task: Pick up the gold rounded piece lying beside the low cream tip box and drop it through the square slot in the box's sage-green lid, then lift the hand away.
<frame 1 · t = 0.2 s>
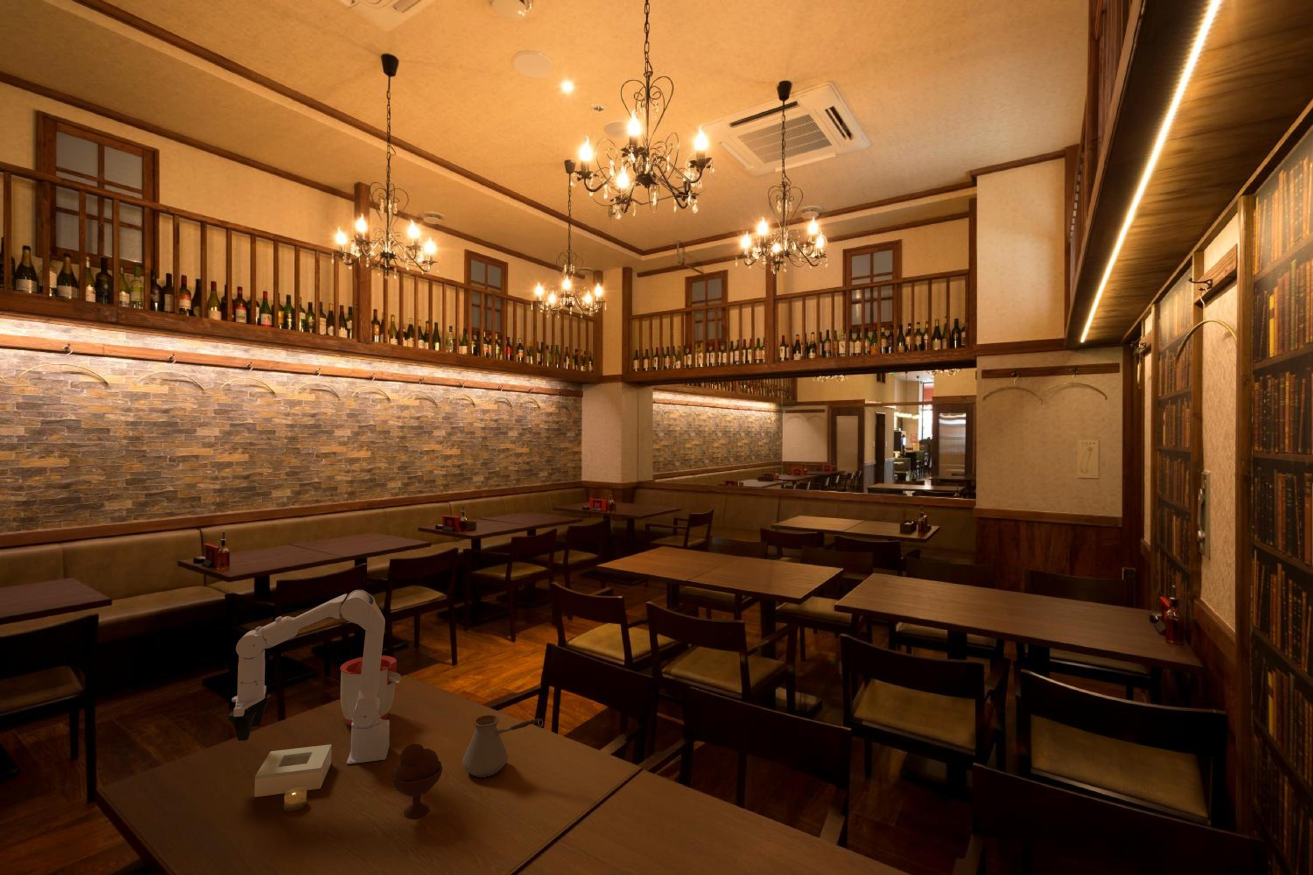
hand: (249, 732, 154), 10 cm above the table, fingers open, 7 cm apart
ice cream bowl: (416, 811, 139), on the table
tip box: (294, 779, 151), on the table
coffee pot: (502, 772, 157), on the table
gold rounded piece: (295, 805, 140), on the table
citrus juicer: (370, 720, 184), on the table
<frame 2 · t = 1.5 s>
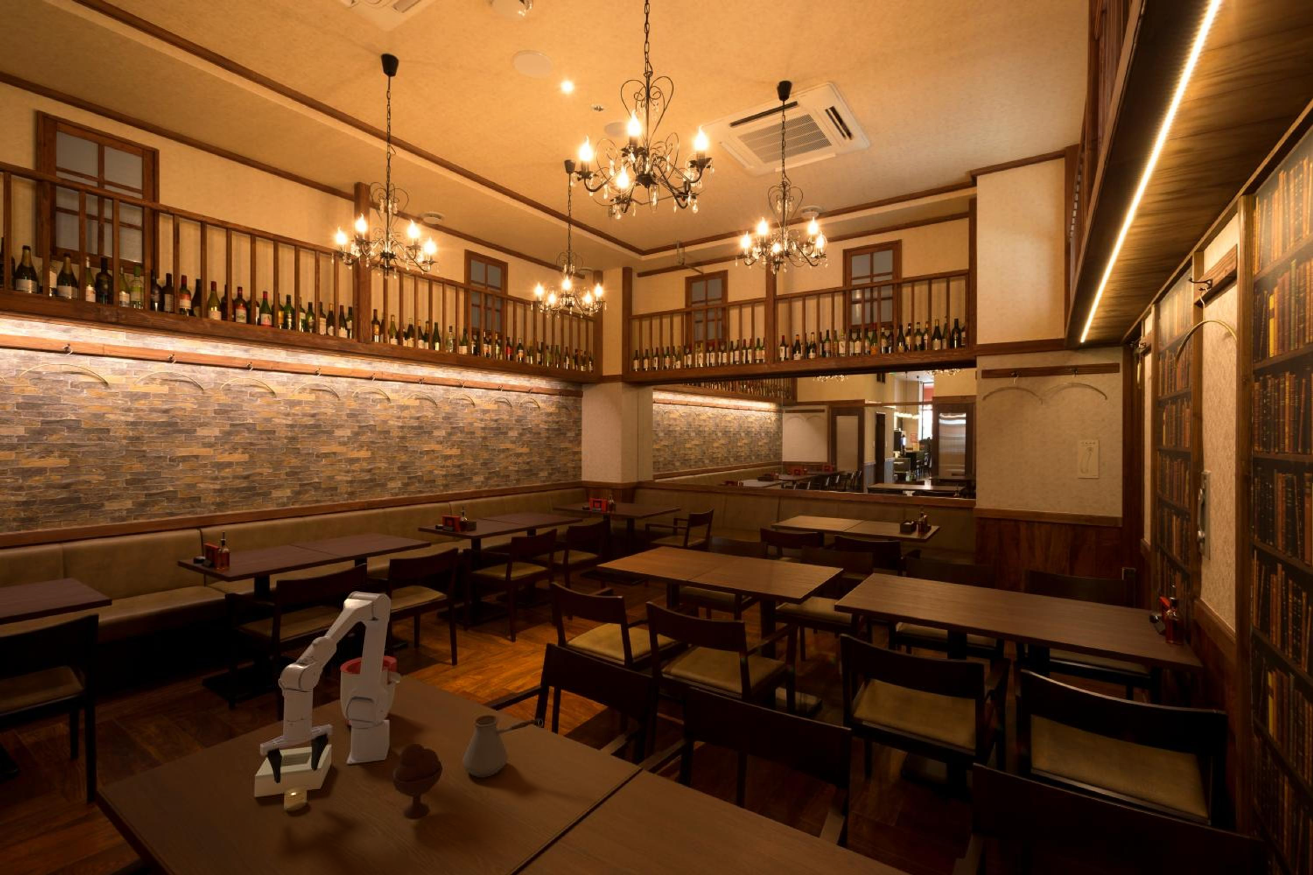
hand: (296, 774, 140), 7 cm above the table, fingers open, 7 cm apart
nothing on the table moved.
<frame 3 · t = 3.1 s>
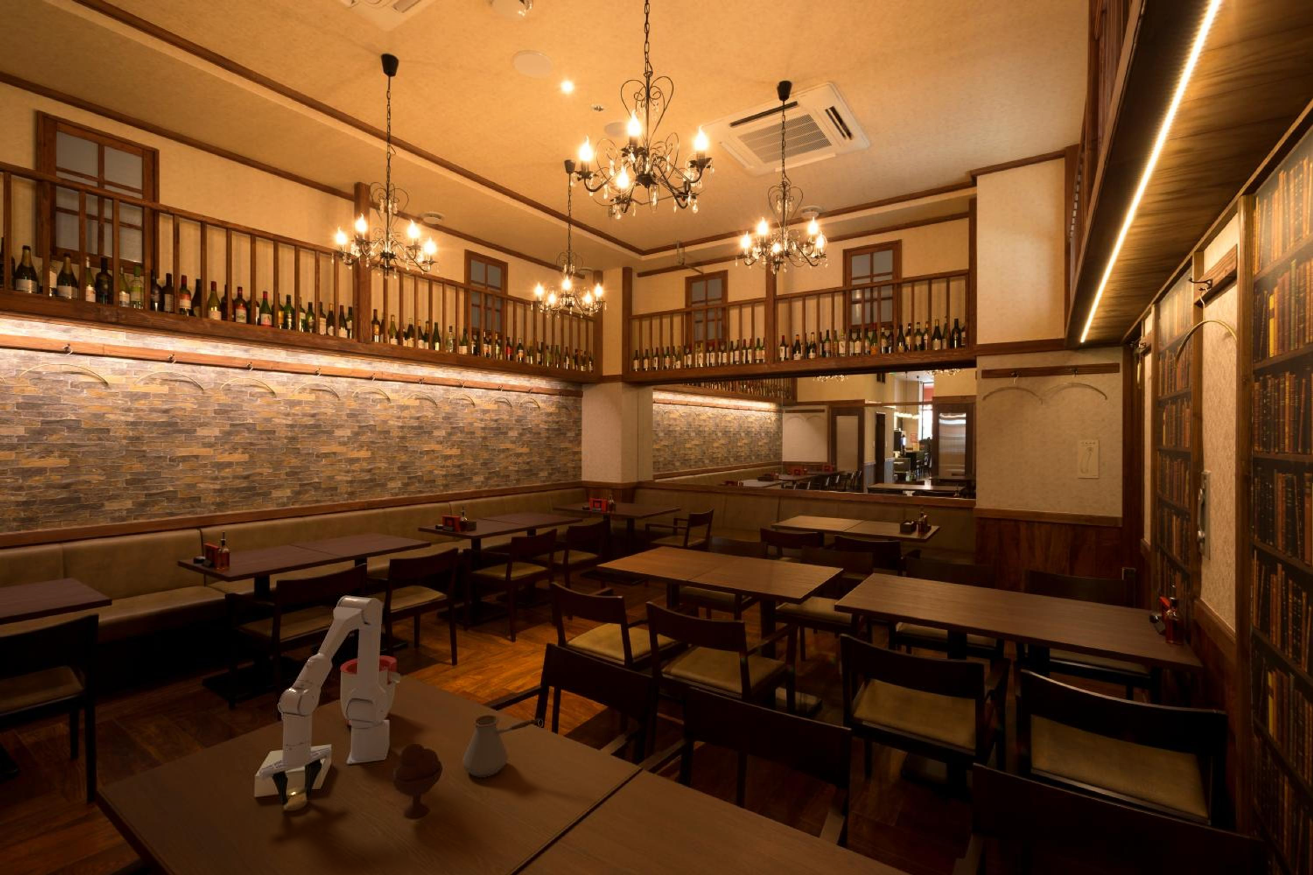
hand: (295, 798, 140), 1 cm above the table, fingers closed on gold rounded piece, 4 cm apart
gold rounded piece: (295, 804, 140), on the table, touching gripper
everything else where it was.
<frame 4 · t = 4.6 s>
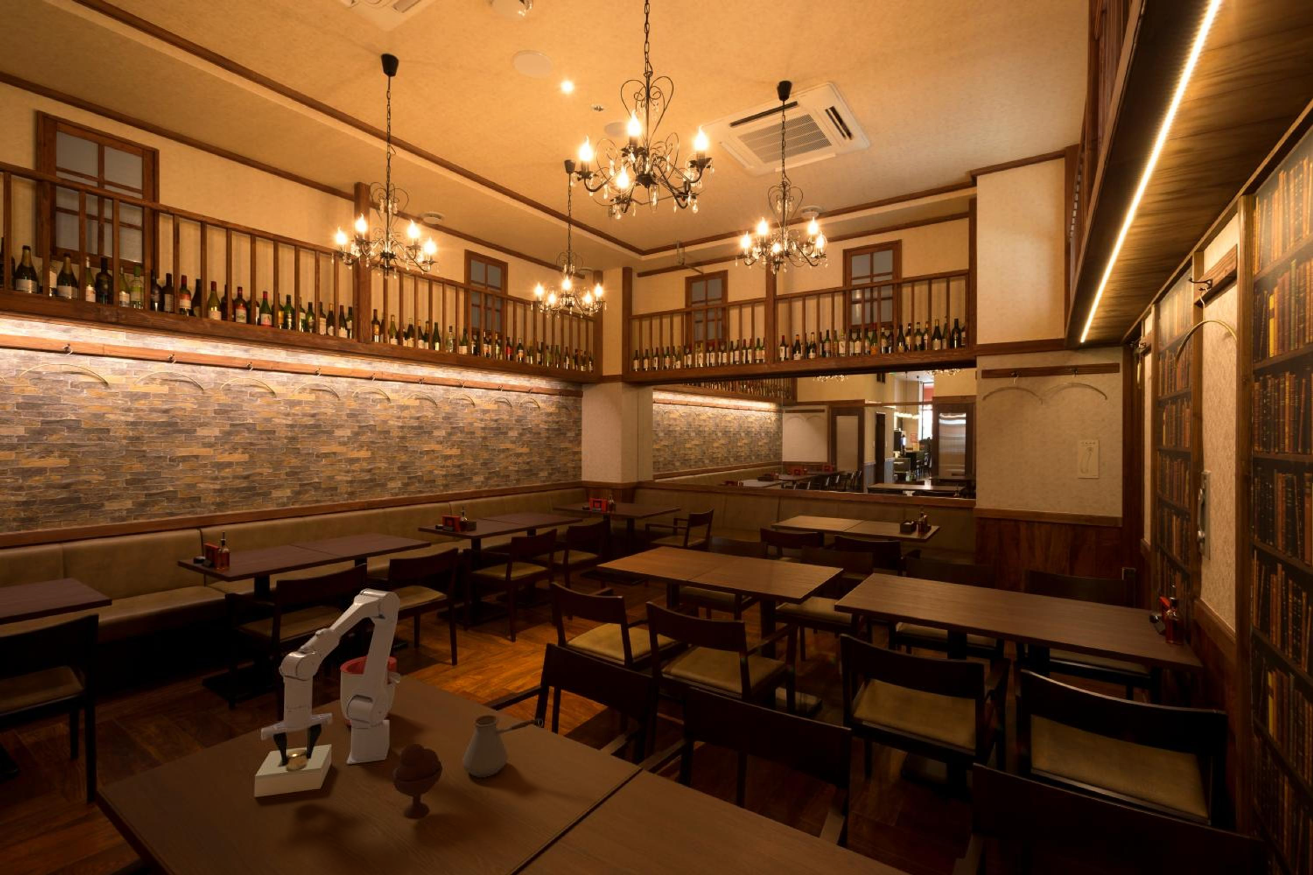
hand: (296, 760, 144), 8 cm above the table, fingers closed on gold rounded piece, 4 cm apart
gold rounded piece: (296, 766, 144), point 7 cm above the table, touching gripper
everything else where it was.
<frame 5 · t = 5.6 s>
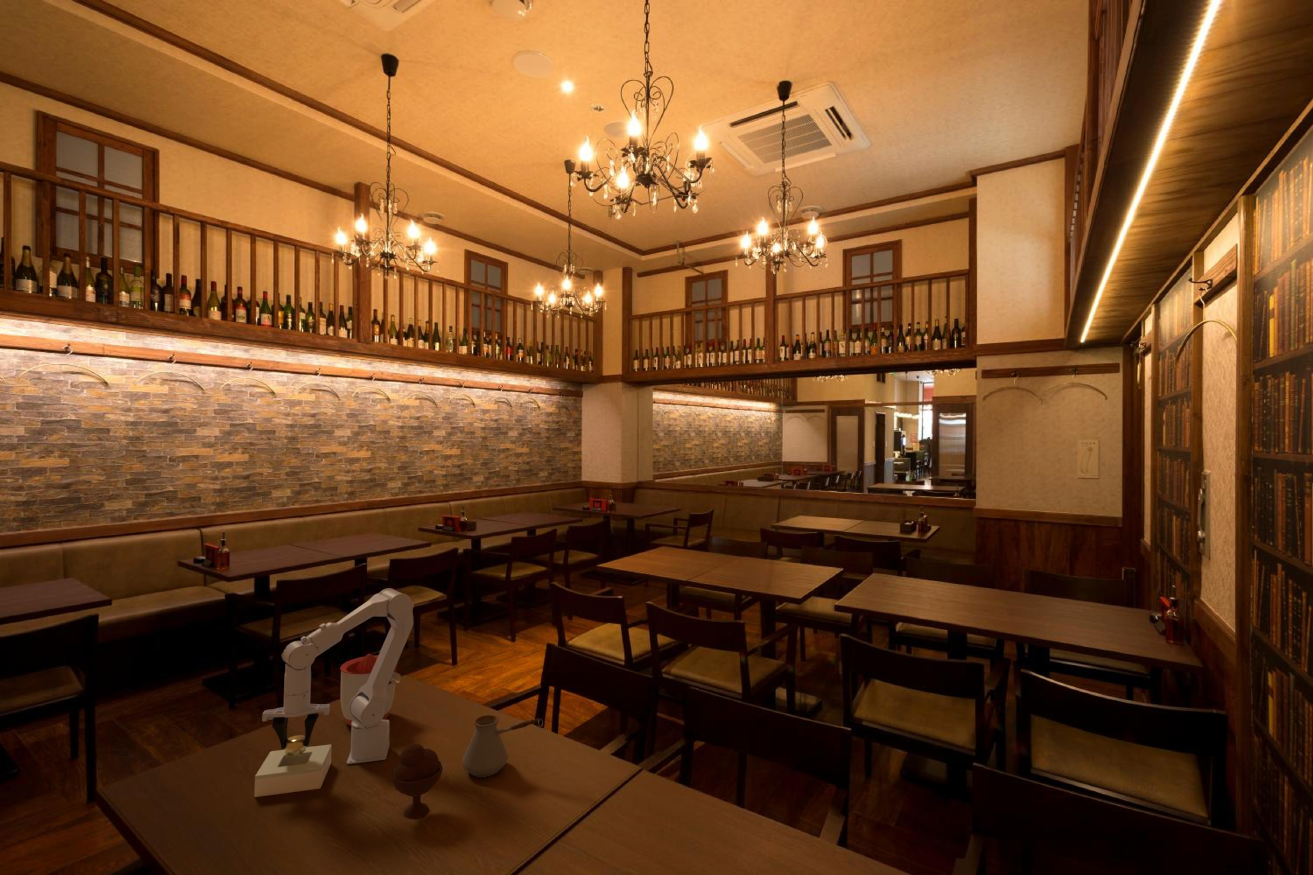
hand: (295, 745, 151), 8 cm above the table, fingers closed on gold rounded piece, 4 cm apart
gold rounded piece: (295, 751, 151), point 7 cm above the table, touching gripper
everything else where it was.
when the fingers open (8 cm above the table, at t = 6.3 s): gold rounded piece drops 6 cm, resting on tip box.
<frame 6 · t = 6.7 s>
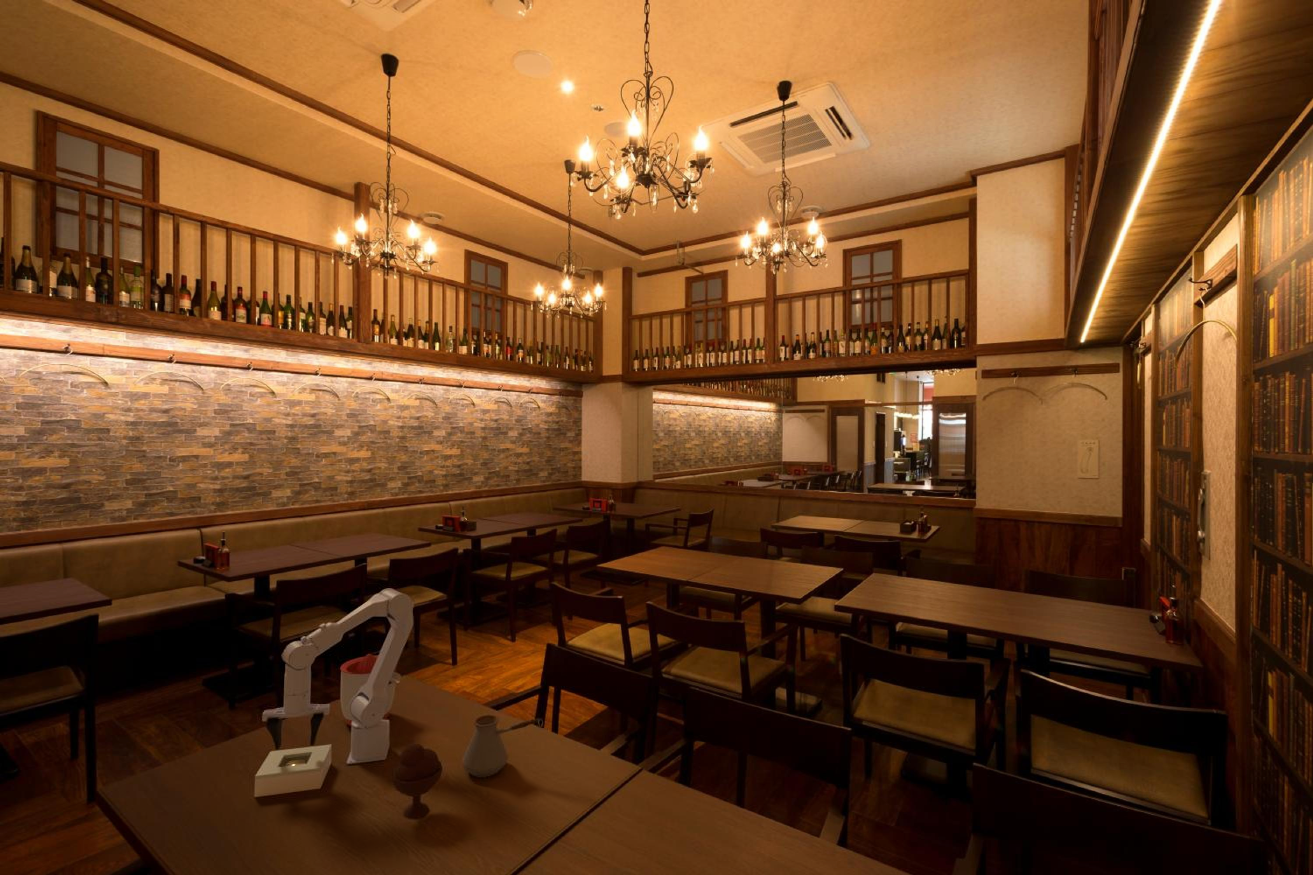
hand: (295, 745, 151), 8 cm above the table, fingers open, 7 cm apart
gold rounded piece: (294, 775, 151), point 1 cm above the table, touching tip box
everything else where it was.
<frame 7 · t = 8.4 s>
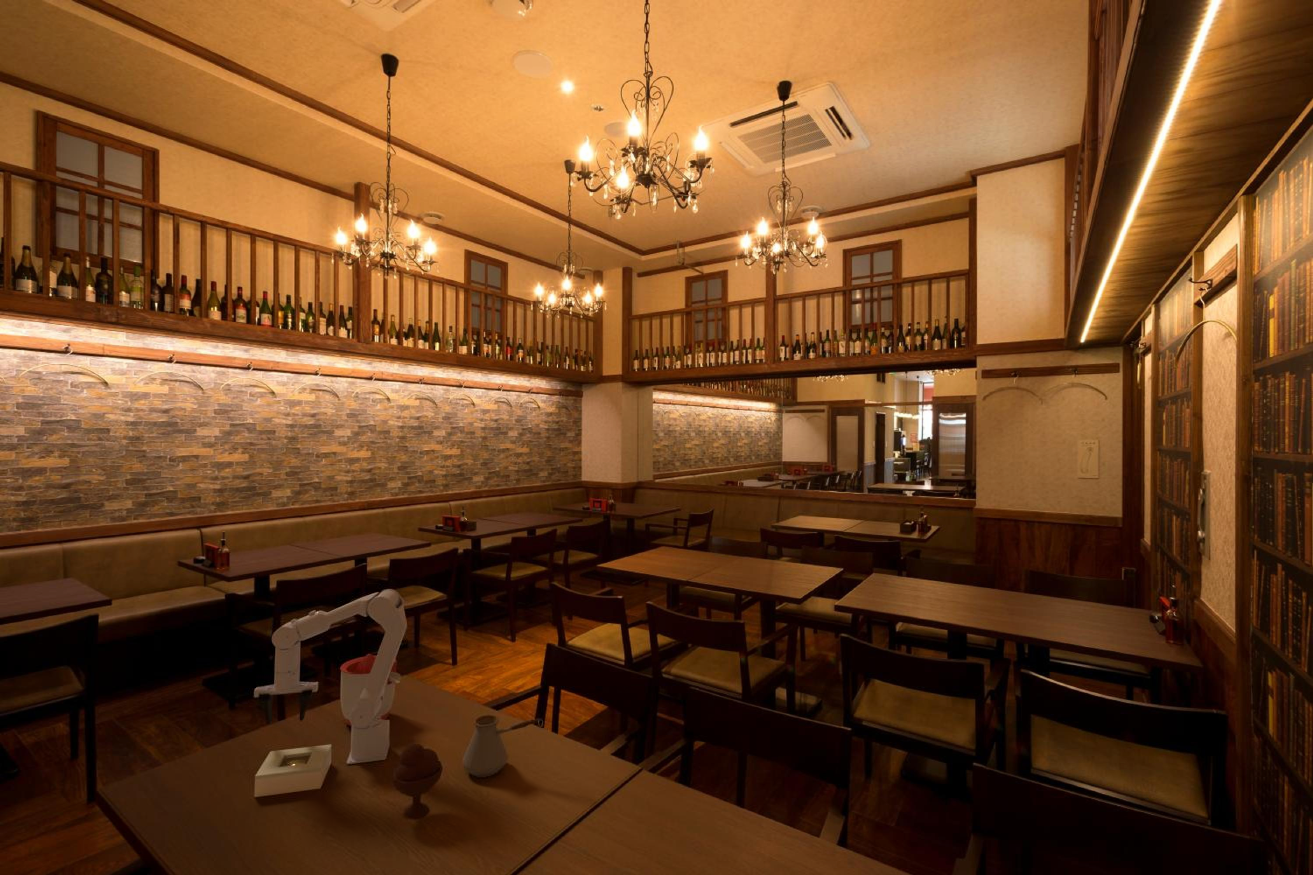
hand: (285, 720, 160), 10 cm above the table, fingers open, 7 cm apart
nothing on the table moved.
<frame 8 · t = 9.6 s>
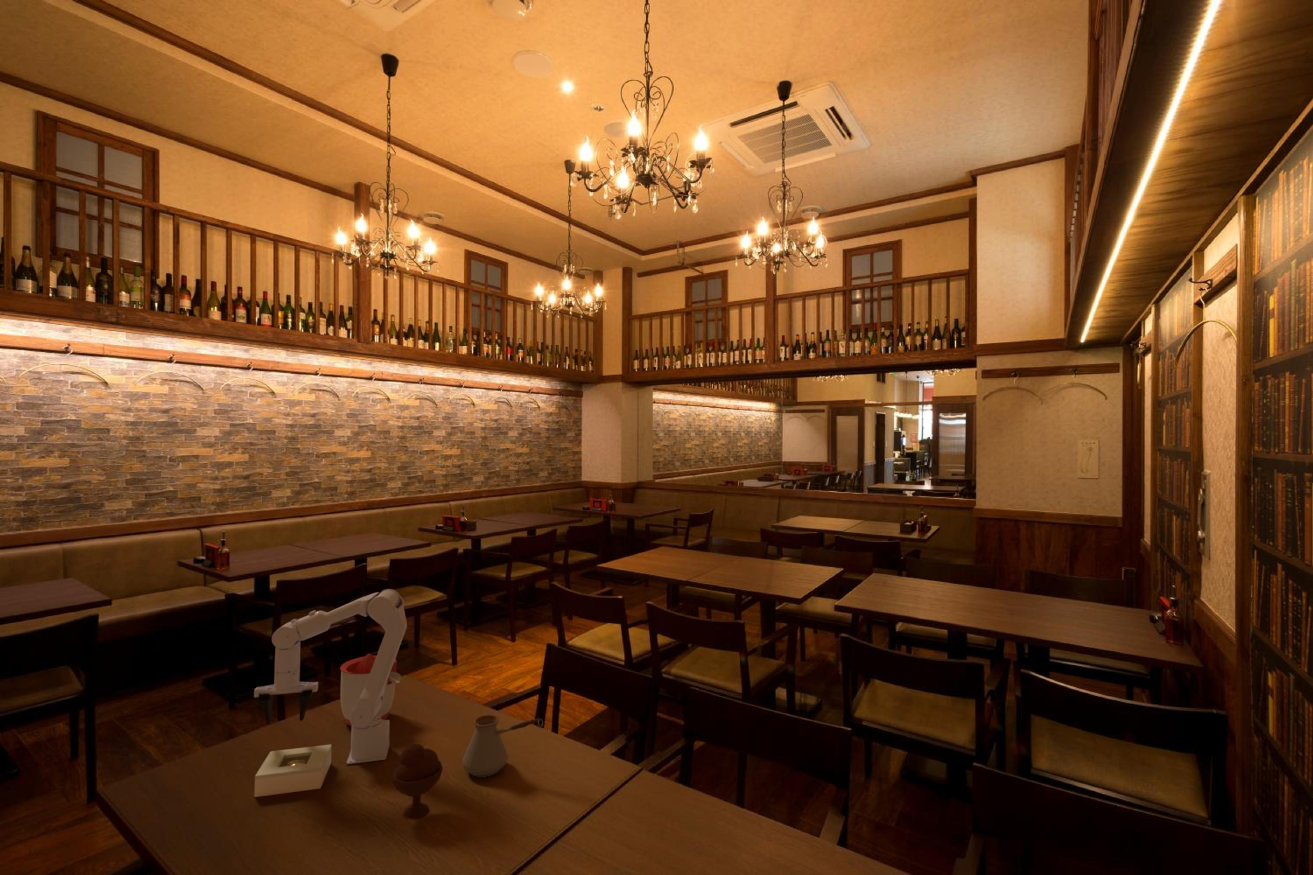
hand: (285, 720, 160), 10 cm above the table, fingers open, 7 cm apart
nothing on the table moved.
at the end: gold rounded piece inside the target area on the tip box (0.0 cm from its centre), point 0.8 cm above the tip box's base; the gripper is holding nothing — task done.
